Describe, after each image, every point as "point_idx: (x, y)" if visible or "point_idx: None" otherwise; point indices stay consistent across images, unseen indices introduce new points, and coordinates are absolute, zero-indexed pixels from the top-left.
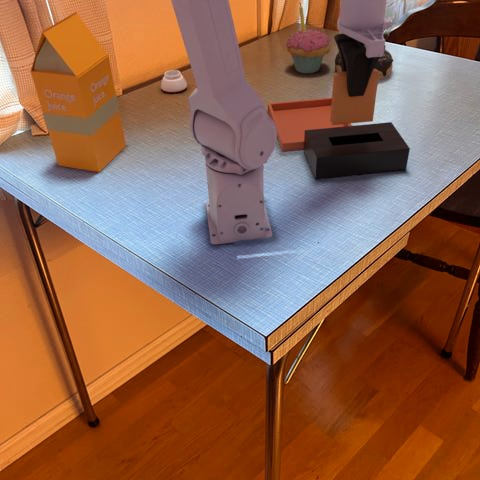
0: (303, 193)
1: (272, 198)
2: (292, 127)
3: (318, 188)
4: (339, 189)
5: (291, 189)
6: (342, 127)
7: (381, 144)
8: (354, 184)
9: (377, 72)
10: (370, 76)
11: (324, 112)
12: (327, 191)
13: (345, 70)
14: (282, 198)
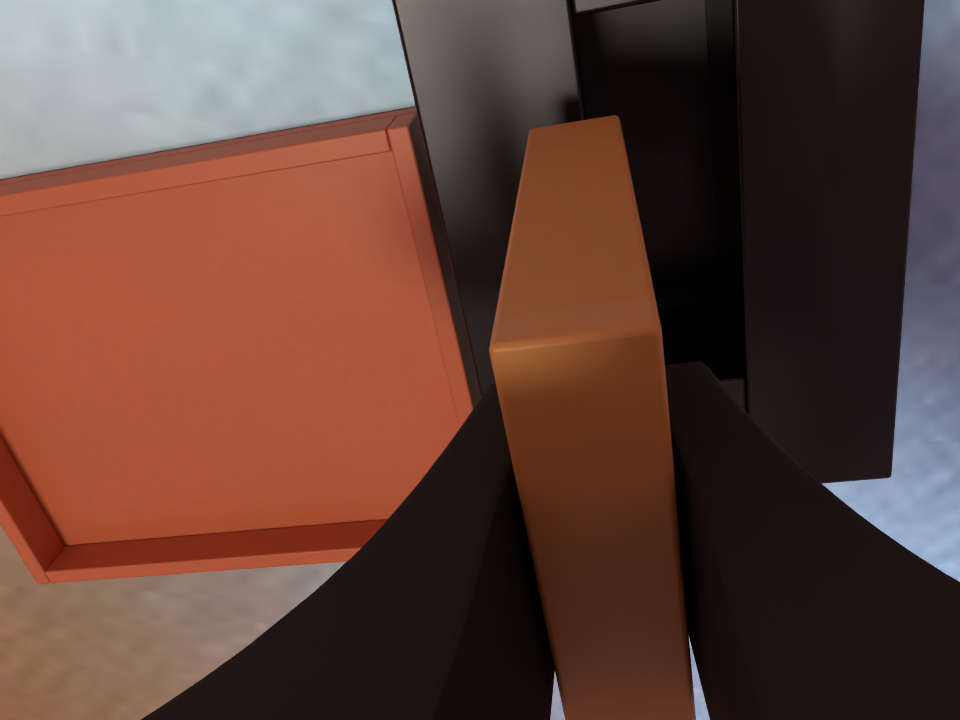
0: (934, 442)
1: (940, 565)
2: (240, 463)
3: (904, 370)
4: (948, 264)
5: (878, 489)
6: (471, 289)
7: (799, 13)
8: (914, 171)
9: (655, 349)
10: (793, 462)
11: (5, 285)
12: (950, 329)
13: (544, 700)
14: (953, 529)
